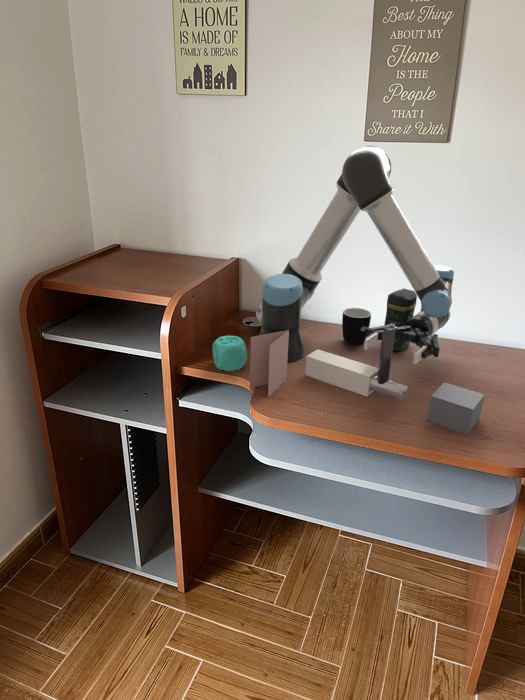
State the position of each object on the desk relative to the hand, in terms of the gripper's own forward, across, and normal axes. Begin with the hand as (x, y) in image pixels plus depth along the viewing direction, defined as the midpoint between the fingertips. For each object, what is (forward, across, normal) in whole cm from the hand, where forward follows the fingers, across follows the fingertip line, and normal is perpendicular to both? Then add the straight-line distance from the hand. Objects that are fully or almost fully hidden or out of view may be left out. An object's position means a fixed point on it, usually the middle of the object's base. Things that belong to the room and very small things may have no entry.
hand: (389, 351), depth 138 cm
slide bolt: (0, +7, -12) cm, 14 cm away
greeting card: (+15, +25, -13) cm, 32 cm away
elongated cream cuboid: (0, +12, -13) cm, 18 cm away
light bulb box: (-19, +51, -11) cm, 55 cm away
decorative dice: (+12, +43, -13) cm, 47 cm away
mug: (-29, +23, -13) cm, 39 cm away
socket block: (+1, -19, -13) cm, 23 cm away
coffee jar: (-33, +11, -13) cm, 37 cm away
